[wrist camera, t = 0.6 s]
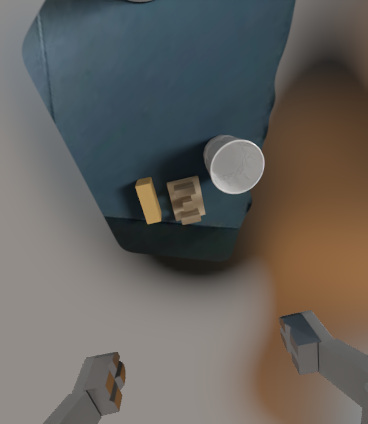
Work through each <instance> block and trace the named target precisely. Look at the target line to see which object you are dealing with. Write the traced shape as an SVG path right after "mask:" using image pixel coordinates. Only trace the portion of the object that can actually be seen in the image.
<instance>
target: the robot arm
mask: <svg viewBox="0 0 368 424" xmlns="http://www.w3.org/2000/svg"><path fill="white" fill-rule="evenodd" d="M129 1H134V2H146V1H151V0H129ZM279 323H280V325H281V329H280V333H281V338H282V341H283V343H284V345H285V348H286V350H287V351H288V352H289V353H291V355H292V361H293V363H294V365H295V367H296V369H297V371H298V373H299V374H300V375H302V374H308V373H314V372H319V373H320V374H321V375H323V376H324V377H325V378H326V379H327V380H329V381H330V382H331V383H333V384H334V385H335V386H336V387H337V388H339V389H340V390H341V391H342V392H344V393H345V394H346V395H347V396H349V397H350V398H351V399H352V400H354V401H355V402H356V403H357V404H359V405H360V406H361V407H362V419H361V424H368V355H366V354H364V353H363V352H360V351H359V350H357V349H355V348H353V347H352V346H350V345H348V344H346V343H344V342H343V341H341V340H339V339H333V337H332V336H331V335H330V333H329V332H328V331H327V330H326V329H325V327H324V326H323V324H322V323H321V322H320V321H319V319H318V318H317V317H316V315H315V314H314V313H313V312H312V311H311V310H309V311H304V312H300V313H294V314H290V315H285V316H282V317H279ZM119 358H120V356H119V354H118V352H114V353H108V354H103V355H97V356H93V357H87V358H86V359H85V361H84V363H83V366H82V368H81V371H80V374H79V376H78V379H77V381H76V384H75V386H74V389H73V391H72V394H69V395H68V396H67V397H66V398H65V399H64V400H63V401H62V403H61V404H60V405H59V406H58V407H57V408H56V409H55V411H54V412H53V413H52V414H51V415H50V416H49V417H48V419H47V420H46V421H45V422H44V423H43V424H97V423H98V422H99V420H100V419H101V416H103V415H107V414H112V413H116V412H119V410H120V404H121V399H122V394H121V392H120V390H121V389H122V387H123V386H124V383H125V367H124V364H123V363H122V362H121V361H119Z"/></svg>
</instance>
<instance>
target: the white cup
mask: <svg viewBox="0 0 368 424" xmlns="http://www.w3.org/2000/svg"><path fill="white" fill-rule="evenodd" d="M203 157H204V162H205V165H206V168H207V170H208V173H209V175H210V177H211V179H212V181H213V183H214V184H215V186H216V187H217V188H218V189H220V190H221V191H223V192H225V193H229V194H239V193H243V192H245V191H247V190H249V189H251V188H252V187H253V186H254V185H255V184H256V183H257V182H258V181H259V179H260V177H261V176H262V173H263V170H264V157H263V154H262V152H261V150H260V149H259V147H258V146H257V145H255V144H254V143H252V142H250V141H247V140H244V139H241V138H238V137H233V136H228V135H218V136H216V137H214V138H212V139H211V140H210V141H209V142H208V143H207V145H206V146H205V149H204V153H203Z"/></svg>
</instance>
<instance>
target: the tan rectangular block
mask: <svg viewBox="0 0 368 424" xmlns="http://www.w3.org/2000/svg"><path fill="white" fill-rule="evenodd" d="M135 188H136V191H137V194H138V197H139V200H140V203H141V206H142V209H143V212H144V215H145V218H146V221H147V224H151V223H155V222H160V221H161V209H160V206H159V203H158V199H157V196H156V192H155V189H154V185H153V182H152V178H151V177H147V178H143V179H139V180H137V183H136V186H135Z"/></svg>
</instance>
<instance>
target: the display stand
mask: <svg viewBox="0 0 368 424" xmlns="http://www.w3.org/2000/svg"><path fill="white" fill-rule="evenodd" d="M167 187H168V191H169V195H170V199H171V203H172V206H173V210H174V214H175V218H176V221H179V220H182V224H183V225H185V224H189V223H194V222H198V221H201V217H200V216H201V215H205V210H204V205H203V200H202V194H201V189H200V184H199V178H198V176H194V177H189V178H185V179H180V180H176V181H172V182H167Z"/></svg>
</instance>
